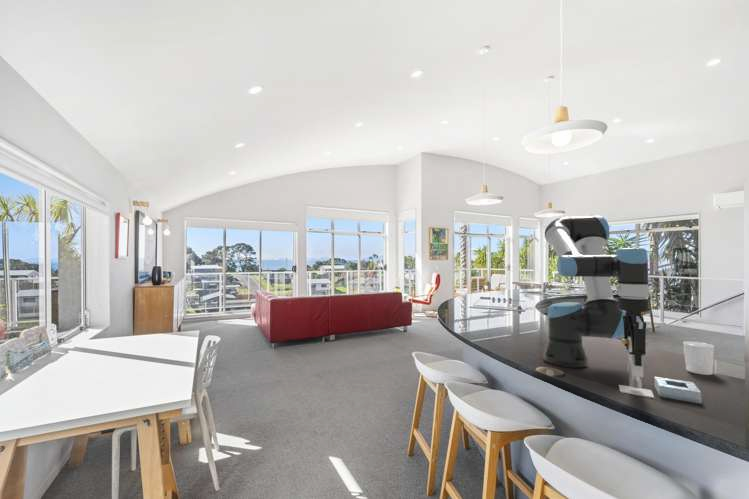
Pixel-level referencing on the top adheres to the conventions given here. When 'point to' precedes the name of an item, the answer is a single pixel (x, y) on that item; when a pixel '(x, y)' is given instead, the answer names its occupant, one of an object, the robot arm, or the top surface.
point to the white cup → (699, 357)
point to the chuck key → (633, 380)
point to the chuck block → (677, 390)
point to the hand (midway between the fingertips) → (635, 374)
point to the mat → (636, 391)
